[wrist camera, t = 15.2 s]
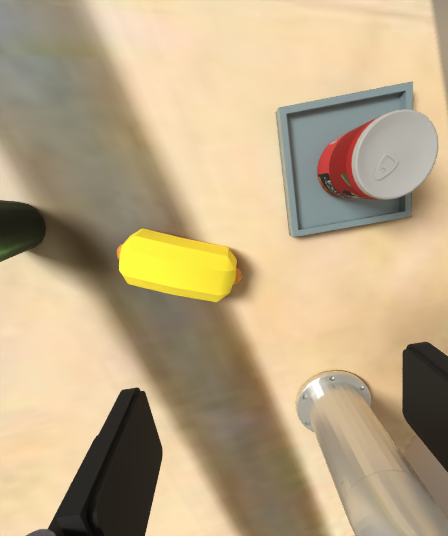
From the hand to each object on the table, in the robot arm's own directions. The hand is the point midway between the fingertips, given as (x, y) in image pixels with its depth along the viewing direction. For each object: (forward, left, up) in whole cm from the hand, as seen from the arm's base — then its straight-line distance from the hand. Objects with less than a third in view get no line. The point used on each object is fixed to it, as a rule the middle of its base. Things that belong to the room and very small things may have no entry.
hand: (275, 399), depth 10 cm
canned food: (+8, -16, -30) cm, 35 cm away
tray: (+8, -16, -30) cm, 35 cm away
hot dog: (-1, +8, -31) cm, 32 cm away
